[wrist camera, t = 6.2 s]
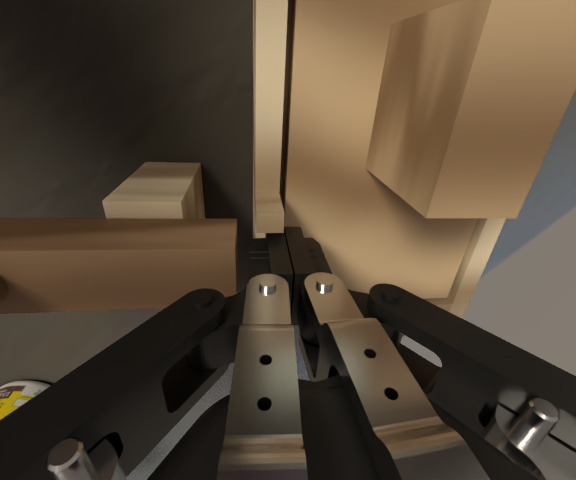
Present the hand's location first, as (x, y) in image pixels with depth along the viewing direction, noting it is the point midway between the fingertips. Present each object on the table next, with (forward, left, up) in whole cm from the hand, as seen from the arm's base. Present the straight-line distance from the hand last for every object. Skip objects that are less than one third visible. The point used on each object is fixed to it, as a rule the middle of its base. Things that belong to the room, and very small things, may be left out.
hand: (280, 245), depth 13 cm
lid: (-3, +5, -2) cm, 6 cm away
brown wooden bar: (0, -7, 0) cm, 7 cm away
